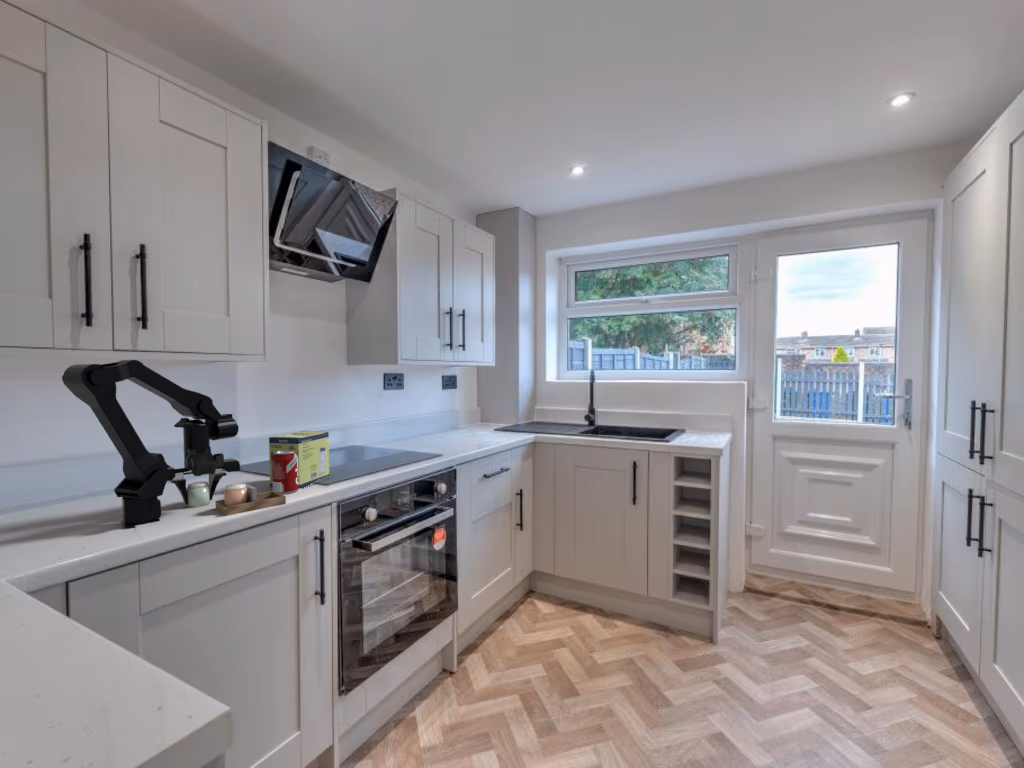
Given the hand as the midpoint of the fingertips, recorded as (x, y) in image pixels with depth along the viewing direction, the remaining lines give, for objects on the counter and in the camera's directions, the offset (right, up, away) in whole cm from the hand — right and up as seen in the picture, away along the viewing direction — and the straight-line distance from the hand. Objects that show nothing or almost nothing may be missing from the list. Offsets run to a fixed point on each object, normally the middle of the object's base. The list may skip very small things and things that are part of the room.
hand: (198, 502), depth 126 cm
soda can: (+17, -1, +13) cm, 21 cm away
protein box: (+16, 0, +25) cm, 30 cm away
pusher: (+15, -1, -2) cm, 15 cm away
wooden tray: (+15, -1, -2) cm, 15 cm away
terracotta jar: (+12, -1, -4) cm, 13 cm away
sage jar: (0, -1, 0) cm, 1 cm away
